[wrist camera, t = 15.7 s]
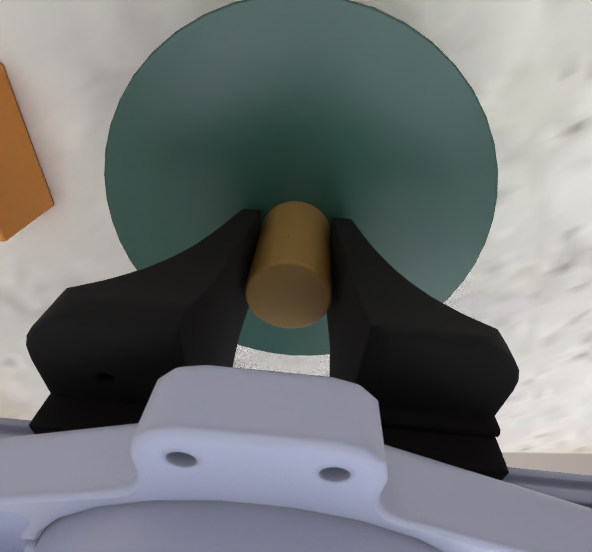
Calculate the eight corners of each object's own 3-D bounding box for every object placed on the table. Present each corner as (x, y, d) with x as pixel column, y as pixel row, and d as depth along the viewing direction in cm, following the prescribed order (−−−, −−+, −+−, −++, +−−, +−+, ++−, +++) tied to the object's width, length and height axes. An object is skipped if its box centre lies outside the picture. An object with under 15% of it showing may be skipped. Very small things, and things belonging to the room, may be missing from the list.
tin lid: (360, 369, 19) (370, 461, 15) (100, 277, 16) (32, 362, 12) (580, 129, 11) (710, 193, 7) (157, -123, 8) (26, -221, 5)
